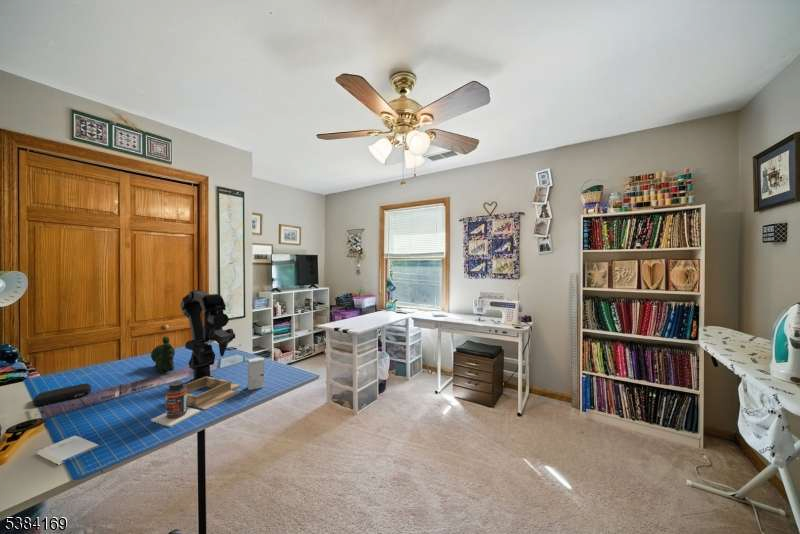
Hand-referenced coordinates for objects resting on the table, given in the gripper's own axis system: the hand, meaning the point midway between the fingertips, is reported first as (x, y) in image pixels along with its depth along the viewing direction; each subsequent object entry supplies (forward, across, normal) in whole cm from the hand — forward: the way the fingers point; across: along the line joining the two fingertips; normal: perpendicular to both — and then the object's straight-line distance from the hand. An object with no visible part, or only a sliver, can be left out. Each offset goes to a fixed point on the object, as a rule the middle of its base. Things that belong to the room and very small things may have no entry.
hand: (212, 359), depth 125 cm
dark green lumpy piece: (+12, +6, +41) cm, 43 cm away
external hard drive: (+13, -44, 0) cm, 46 cm away
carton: (+12, -4, -5) cm, 14 cm away
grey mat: (+12, -21, -10) cm, 26 cm away
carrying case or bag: (+13, -27, +46) cm, 55 cm away
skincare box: (+12, +7, -17) cm, 22 cm away
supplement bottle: (+12, -21, -10) cm, 26 cm away
